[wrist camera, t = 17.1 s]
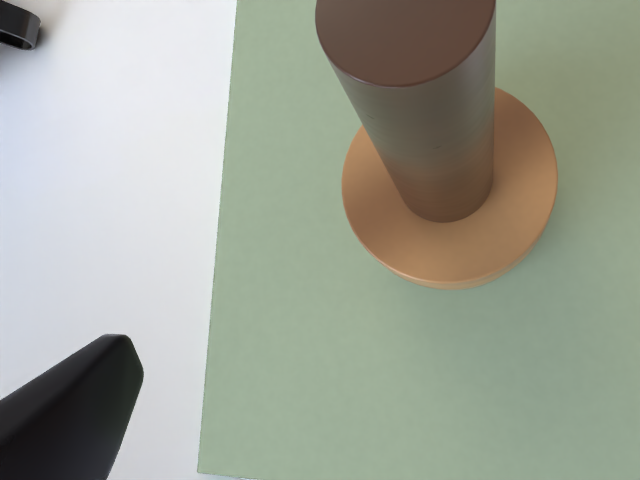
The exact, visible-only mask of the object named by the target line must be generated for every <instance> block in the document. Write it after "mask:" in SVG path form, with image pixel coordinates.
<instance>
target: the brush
mask: <svg viewBox="0 0 640 480" xmlns="http://www.w3.org/2000/svg"><path fill="white" fill-rule="evenodd" d="M496 1H497V0H317V1H316V8H315V26H316V33H317V36H318V40H319V43H320V45H321V47H322V49H323V51H324V53H325V55H326V57H327V59H328V61H329V63H330V64H331V66H332V68H333V70H334V72H335V74H336V76H337V78H338V79H339V81H340V83H341V85H342V87H343V89H344V91H345V92H346V94H347V96H348V98H349V100H350V102H351V104H352V106H353V107H354V109H355V111H356V113H357V115H358V117H359V119H360V121H361V122H362V125H361V127H360V128H359V130H358V131H357V133H356V135H355V136H354V138H353V140H352V142H351V144H350V146H349V149H348V152H347V154H346V158H345V161H344V165H343V171H342V179H341V190H342V200H343V206H344V210H345V213H346V217H347V219H348V222H349V224H350V226H351V228H352V230H353V232H354V234H355V235H356V237H357V239H358V240H359V242H360V243H361V244H362V245H363V247H364V248H365V249H366V250H367V251H368V252H369V253H370V254H371V255H372V256H373V257H374V258H375V259H376V260H377V261H378V262H379V263H381V264H382V265H383V266H384V267H385V268H387V269H388V270H389V271H391V272H392V273H394V274H395V275H397V276H399V277H401V278H402V279H404V280H406V281H409V282H412V283H414V284H417V285H420V286H424V287H429V288H435V289H441V290H464V289H470V288H475V287H478V286H482V285H485V284H487V283H489V282H491V281H494V280H496V279H497V278H499V277H501V276H502V275H504V274H505V273H507V272H508V271H510V270H511V269H513V268H514V267H515V266H516V265H518V264H519V263H520V262H521V261H522V260H523V259H524V258H525V257H526V256H527V255H528V254H529V253H530V252H531V250H532V249H533V248H534V246H535V245H536V244H537V242H538V241H539V239H540V237H541V235H542V233H543V232H544V230H545V228H546V225H547V223H548V220H549V218H550V215H551V212H552V210H553V207H554V204H555V199H556V195H557V188H558V167H557V160H556V156H555V151H554V148H553V145H552V143H551V140H550V138H549V135H548V134H547V132H546V130H545V128H544V127H543V125H542V123H541V122H540V121H539V119H538V118H537V117H536V116H535V114H534V113H533V112H532V111H531V110H530V109H529V108H528V107H527V106H526V105H525V104H523V103H522V102H521V101H519V100H518V99H517V98H515V97H514V96H513V95H511V94H509V93H507V92H505V91H503V90H502V89H499V88H497V87H495V52H496Z"/></svg>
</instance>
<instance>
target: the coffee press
mask: <svg viewBox="0 0 640 480" xmlns="http://www.w3.org/2000/svg"><path fill="white" fill-rule="evenodd" d="M40 23H41V21H40V19H39V18H38V17H37V16H36V15H34V14H33V13H31V12H29V11H27V10H24V9H22V8H19V7H17V6H14V5H12V4H9V3H7V2H4V1H2V0H0V43H1V44H4V45H8V46H11V47H14V48H18V49H22V50H33V49H35V45H36V40H37V36H38V31H39V27H40Z"/></svg>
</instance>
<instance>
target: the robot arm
mask: <svg viewBox="0 0 640 480" xmlns="http://www.w3.org/2000/svg"><path fill="white" fill-rule="evenodd" d="M143 377H144V372H143V367H142V364H141V362H140V360H139V357H138V355H137V352H136V350H135V348H134V345H133V343H132V341H131V339H130V338H129V337H128V336H126V335H121V334H105V335H102V336H101V337H99V338H97V339H96V340H94V341H93V342H91V343H90V344H88V345H86V346H85V347H83V348H82V349H80V350H79V351H77V352H76V353H74V354H72V355H71V356H69V357H68V358H66V359H65V360H63V361H61V362H60V363H58V364H57V365H55V366H54V367H52V368H50V369H49V370H47V371H46V372H44V373H43V374H41V375H39V376H38V377H36V378H35V379H33V380H32V381H30V382H28V383H27V384H25V385H24V386H22V387H21V388H19V389H17V390H16V391H14V392H13V393H11V394H10V395H8V396H7V397H5V398H3V399H2V400H0V480H107V478H108V475H109V473H110V471H111V469H112V466H113V464H114V462H115V459H116V456H117V454H118V451H119V449H120V446H121V443H122V440H123V437H124V434H125V432H126V429H127V426H128V423H129V420H130V417H131V414H132V411H133V409H134V406H135V403H136V400H137V397H138V394H139V391H140V388H141V386H142V382H143Z"/></svg>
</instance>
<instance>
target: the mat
mask: <svg viewBox="0 0 640 480" xmlns="http://www.w3.org/2000/svg"><path fill="white" fill-rule="evenodd" d="M316 1H317V0H237V8H236V20H235V32H234V44H233V55H232V67H231V79H230V91H229V102H228V114H227V126H226V138H225V150H224V161H223V173H222V185H221V197H220V209H219V220H218V232H217V244H216V256H215V267H214V279H213V291H212V303H211V315H210V326H209V338H208V350H207V362H206V374H205V385H204V397H203V409H202V421H201V432H200V444H199V456H198V468H197V472H198V473H205V474H213V475H222V476H231V477H239V478H248V479H257V480H640V0H497V1H496V52H495V87H497V88H499V89H502V90H503V91H505V92H507V93H509V94H511V95H513V96H514V97H515V98H517V99H518V100H519V101H521V102H522V103H523V104H525V105H526V106H527V107H528V108H529V109H530V110H531V111H532V112H533V113H534V114H535V116H536V117H537V118H538V119H539V121H540V122H541V123H542V125H543V127H544V128H545V130H546V132H547V134H548V135H549V138H550V140H551V143H552V145H553V148H554V151H555V156H556V160H557V167H558V188H557V195H556V199H555V204H554V207H553V210H552V212H551V215H550V218H549V220H548V223H547V225H546V228H545V230H544V232H543V233H542V235H541V237H540V239H539V241H538V242H537V244H536V245H535V246H534V248H533V249H532V250H531V252H530V253H529V254H528V255H527V256H526V257H525V258H524V259H523V260H522V261H521V262H520V263H519V264H518V265H516V266H515V267H514V268H513V269H511V270H510V271H508V272H507V273H505V274H504V275H502V276H501V277H499V278H497V279H496V280H494V281H491V282H489V283H487V284H485V285H482V286H478V287H475V288H470V289H464V290H441V289H435V288H429V287H424V286H420V285H417V284H414V283H412V282H409V281H406V280H404V279H402V278H401V277H399V276H397V275H395V274H394V273H392V272H391V271H389V270H388V269H387V268H385V267H384V266H383V265H382V264H381V263H379V262H378V261H377V260H376V259H375V258H374V257H373V256H372V255H371V254H370V253H369V252H368V251H367V250H366V249H365V248H364V247H363V245H362V244H361V243H360V242H359V240H358V239H357V237H356V235H355V234H354V232H353V230H352V228H351V226H350V224H349V222H348V219H347V217H346V213H345V210H344V206H343V200H342V190H341V179H342V171H343V165H344V161H345V158H346V154H347V152H348V149H349V146H350V144H351V142H352V140H353V138H354V136H355V135H356V133H357V131H358V130H359V128H360V127H361V125H362V122H361V121H360V119H359V117H358V115H357V113H356V111H355V109H354V107H353V106H352V104H351V102H350V100H349V98H348V96H347V94H346V92H345V91H344V89H343V87H342V85H341V83H340V81H339V79H338V78H337V76H336V74H335V72H334V70H333V68H332V66H331V64H330V63H329V61H328V59H327V57H326V55H325V53H324V51H323V49H322V47H321V45H320V43H319V40H318V36H317V33H316V26H315V8H316Z"/></svg>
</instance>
